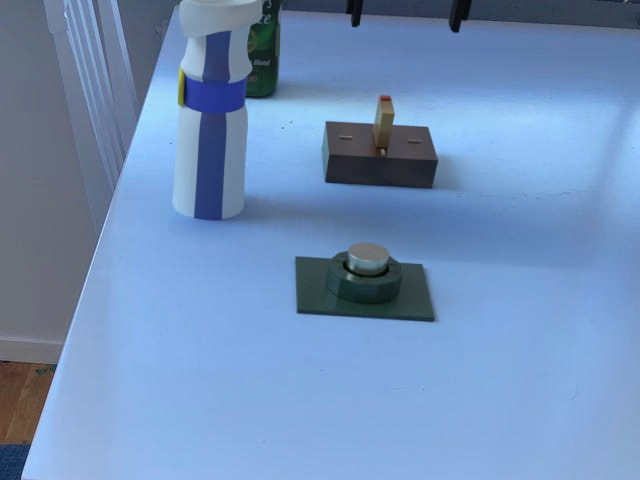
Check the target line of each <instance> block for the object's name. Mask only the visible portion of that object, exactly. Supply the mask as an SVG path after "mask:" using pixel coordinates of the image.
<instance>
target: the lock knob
mask: <svg viewBox="0 0 640 480" xmlns="http://www.w3.org/2000/svg"><path fill="white" fill-rule="evenodd" d="M377 99H378V100H377V104H376V110H375V116H374V121H373V124H374V126H373V134H374V139H375V145H376V147H379V148H388V147H389V141H390V136H391V131H392V126H393V125H394V120H395V115H396V114H395V113H396V112H395V108H394V104H393V101H392V97H391V95H390V94H389V95H387V94H380V96H379V97H378V98H377Z"/></svg>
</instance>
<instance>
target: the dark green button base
mask: <svg viewBox="0 0 640 480" xmlns="http://www.w3.org/2000/svg"><path fill="white" fill-rule="evenodd" d="M347 255H348V250H345V251H340V252H338V253H336V254H335V255H334V256H333V257H314V256H298V255H295V257H294V274H295V303H296V304H295V305H296V314H301V315H320V316H335V317H348V318H349V317H351V318H366V319H380V320H381V319H383V320H397V321H413V322H414V321H415V322H429V323H434V322H435V318H436V317H435V313H434V309H433V304H432V300H431V296H430V291H429V287H428V283H427V278H426V274H425V269H424V265H423V264H422V263H414V262H413V263H412V262H411V263H410V262H399V261H398V260H396V259H395V258H393V257H392V256H390V255H389V258H388V263H387V268H386V272H385V275H384V276H382V277H377V278H364V277H358V276H355V275H352V274H350V273H348V272H347V271H346V270H345V266H346V261H347Z"/></svg>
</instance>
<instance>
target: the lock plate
mask: <svg viewBox="0 0 640 480" xmlns="http://www.w3.org/2000/svg"><path fill="white" fill-rule="evenodd" d="M373 126H374V123H371V122H370V123H368V122H353V121H335V120H334V121H333V120H325V123H324V131H323V138H322V143H321V153H322V163H323V175H324V182H325V183H337V184H338V183H340V184H354V185H370V186H371V185H372V186H391V187H406V188H423V189H432V188H433V185H434V181H435V176H436V172H437V169H438V164H439V159H438V155H437V152H436V148H435V145H434V141H433V138H432V135H431V132H430V131H431V130H430V129H429V126H423V125H421V126H420V125H404V124H393V126H392V131H391V136H390V141H389V147H388V148H379V147H376V145H375V139H374V134H373Z"/></svg>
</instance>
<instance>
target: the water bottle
mask: <svg viewBox="0 0 640 480" xmlns="http://www.w3.org/2000/svg"><path fill="white" fill-rule="evenodd" d="M178 11H179V13H178V16H179V17H178V20H179V26H180V29H181V32H182V35H183V36H182V37H183V39H187V45H186V49H185V53H184V56H183V58H182V59H181V61H180V63H179V67H178V88H177V105H178V106H179V110H178V115H177V127H176V146H175V147H176V148H175V164H174V165H175V166H174V167H175V168H174V178H173V180H174V181H173V191H172V207H173V208H174V210H175V211H176V212H177V213H179V214H181V215H182V216H185V217H188V218H191V219H195V220H201V221H221V220H226V219H231V218H233V217H236V216H238V215H239V214H241V213H242V212H243V210H244V207H245V180H246V179H245V177H246V160H247V159H246V158H247V157H246V156H247V144H248V130H249V129H248V128H249V116H248V114H249V113H248V109H247V106H246V96H247V95H246V84H247V75H248V74H249V73H250V72H251V71H252V65H251V62H250V61H249V58H248V53H247V41H248V35H249V31H250V26H251V25H253V24H255V23H257V22H259V21H260V20H261V18H262V0H181V1H180V3H179V9H178Z"/></svg>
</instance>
